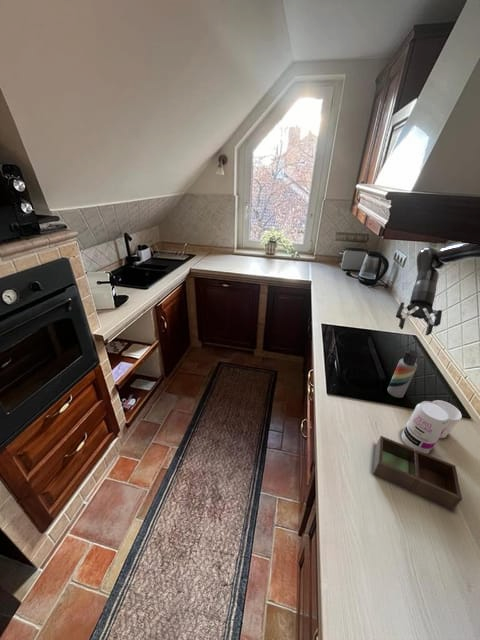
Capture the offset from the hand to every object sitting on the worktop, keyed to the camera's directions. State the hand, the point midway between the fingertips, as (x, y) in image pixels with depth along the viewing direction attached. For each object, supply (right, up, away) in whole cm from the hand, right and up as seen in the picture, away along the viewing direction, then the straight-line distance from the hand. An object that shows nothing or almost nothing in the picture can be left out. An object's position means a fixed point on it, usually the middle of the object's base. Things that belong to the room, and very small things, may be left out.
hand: (414, 331), depth 97 cm
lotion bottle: (-6, -25, +2) cm, 25 cm away
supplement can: (-11, -35, -16) cm, 40 cm away
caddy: (-19, -40, -26) cm, 51 cm away
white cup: (-2, -33, -12) cm, 35 cm away
